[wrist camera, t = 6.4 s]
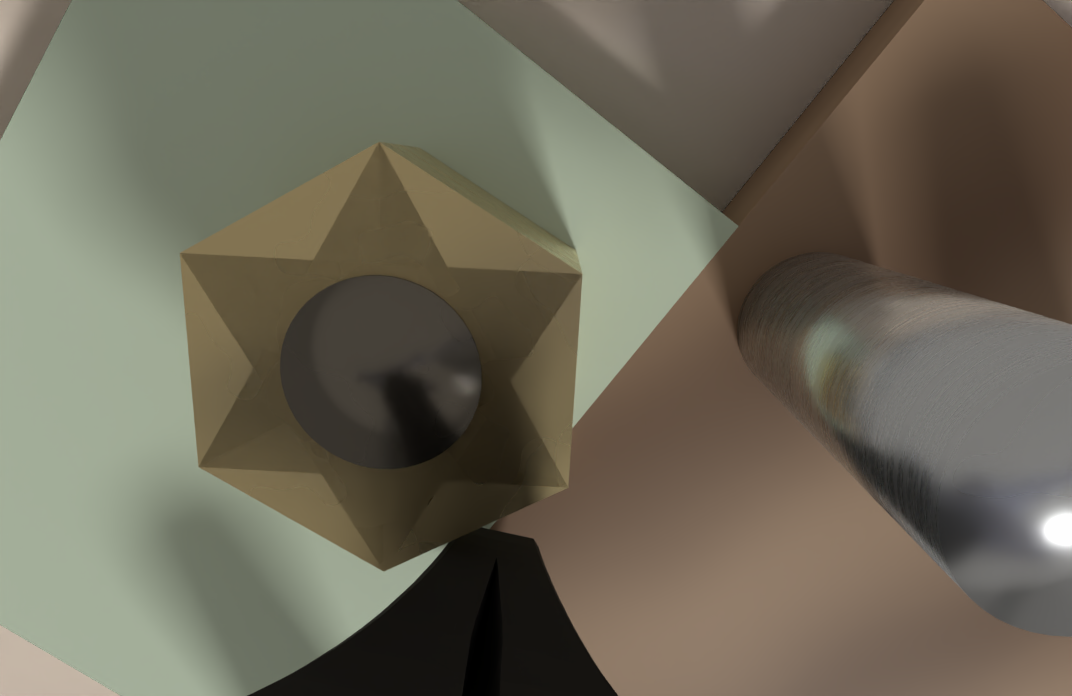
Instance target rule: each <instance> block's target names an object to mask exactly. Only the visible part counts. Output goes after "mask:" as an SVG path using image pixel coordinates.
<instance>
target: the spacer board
mask: <svg viewBox="0 0 1072 696" xmlns="http://www.w3.org/2000/svg"><path fill="white" fill-rule="evenodd" d="M722 213H723V214H724V215H725V216H727V217H728V218H729V219H730V220H732V221H733V222H734V223H735V224H737V225H738V228H737V229H736V230H735V231H734V232H733V234H732V235H731V236H730V237H729V239H728V240H727V241H726V242H725V243H724V245H723V246H722V247H721V248H720V250H719V251H718V252H717V253H716V254H715V256H714V257H713V258H712V259H711V260H710V262H709V263H708V264H707V265H706V267H705V268H704V269H703V270H702V271H701V273H700V274H699V275H698V276H697V277H696V279H695V280H694V281H693V282H692V284H691V285H690V286H689V287H688V288H687V290H686V291H685V292H684V293H683V294H682V296H681V297H680V298H679V299H678V301H677V302H676V303H675V304H674V305H673V307H672V308H671V309H670V310H669V312H668V313H667V314H666V315H665V316H664V318H663V319H662V320H661V321H660V322H659V324H658V325H657V326H656V327H655V329H654V330H653V331H652V332H651V333H650V335H649V336H648V337H647V338H646V339H645V341H644V342H643V343H642V344H641V346H640V347H639V348H638V349H637V350H636V352H635V353H634V354H633V355H632V356H631V358H630V359H629V360H628V361H627V363H626V364H625V365H624V366H623V367H622V369H621V370H620V371H619V372H618V374H617V375H616V376H615V377H614V378H613V380H612V381H611V382H610V383H609V384H608V386H607V387H606V388H605V389H604V391H603V392H602V393H601V394H600V395H599V397H598V398H597V399H596V400H595V401H594V403H593V404H592V405H591V406H590V408H589V409H588V410H587V411H586V412H585V414H584V415H583V416H582V417H581V419H580V420H579V421H578V422H577V423H576V425H575V426H574V427H573V428H572V440H571V455H570V470H569V485H568V488H567V489H564V490H562V491H560V492H558V493H556V494H553V495H551V496H549V497H547V498H545V499H542V500H540V501H538V502H536V503H534V504H531V505H529V506H527V507H525V508H523V509H520V510H518V511H516V512H514V513H512V514H509V515H507V516H505V517H503V518H501V519H498V520H497V521H496V522H495V523H494V524H493V525H492V527H491V528H490V529H491V530H496V531H501V532H505V533H510V534H515V535H519V536H524V537H529V538H534V540H535V542H536V543H537V545H538V547H539V550H540V553H541V556H542V559H543V561H544V564H545V566H546V569H547V571H548V574H549V576H550V579H551V581H552V583H553V586H554V588H555V590H556V592H557V594H558V596H559V599H560V601H561V603H562V604H563V606H564V608H565V610H566V612H567V614H568V616H569V618H570V620H571V622H572V624H573V626H574V628H575V630H576V632H577V633H578V635H579V637H580V639H581V640H582V642H583V644H584V645H585V647H586V649H587V650H588V652H589V654H590V655H591V657H592V659H593V660H594V662H595V663H596V665H597V667H598V668H599V670H600V671H601V673H602V674H603V676H604V677H605V678H606V680H607V681H608V682H609V684H610V685H611V686H612V688H613V689H614V690H615V692H616V693H617V695H618V696H1072V637H1065V636H1050V635H1045V634H1039V633H1034V632H1030V631H1027V630H1023V629H1020V628H1017V627H1014V626H1012V625H1010V624H1007V623H1005V622H1003V621H1001V620H999V619H997V618H995V617H994V616H992V615H991V614H989V613H988V612H986V611H985V610H983V609H982V608H981V607H980V606H978V605H977V604H976V603H975V602H974V601H973V600H972V599H970V598H969V597H968V596H967V594H966V593H965V592H964V591H963V590H962V589H961V588H960V587H959V586H958V585H957V584H956V583H955V582H954V581H953V580H952V579H951V578H950V577H949V576H948V575H947V574H946V573H945V572H944V571H943V570H942V569H941V568H940V567H939V566H938V565H937V564H936V562H935V561H934V560H933V559H932V558H931V557H930V556H929V555H928V554H927V553H926V552H925V551H924V550H923V549H922V548H921V547H920V546H919V545H918V544H917V543H916V542H915V541H914V540H913V539H912V538H911V537H910V536H909V535H908V534H907V533H906V532H905V530H904V529H903V528H902V527H901V526H900V525H899V524H898V523H897V522H896V521H895V520H894V519H893V518H892V517H891V516H890V515H889V514H888V513H887V512H886V511H885V510H884V509H883V508H882V507H881V506H880V505H879V504H878V503H877V502H876V501H875V500H874V498H873V497H872V496H871V495H870V494H869V493H868V492H867V491H866V490H865V489H864V488H863V487H862V486H861V485H860V484H859V483H858V482H857V481H856V480H855V479H854V478H853V477H852V476H851V475H850V474H849V473H848V472H847V471H846V470H845V469H844V468H843V466H842V465H841V464H840V463H839V462H838V461H837V460H836V459H835V458H834V457H833V456H832V455H831V454H830V453H829V452H828V451H827V450H826V449H825V448H824V447H823V446H822V445H821V444H820V443H819V442H818V441H817V440H816V439H815V438H814V437H813V436H812V434H811V433H810V432H809V431H808V430H807V429H806V428H805V427H804V426H803V425H802V424H801V423H800V422H799V421H798V420H797V419H796V418H795V417H794V416H793V415H792V414H791V413H790V412H789V411H788V410H787V409H786V408H785V407H784V406H783V405H782V404H781V403H780V401H779V400H778V399H777V398H776V397H775V396H774V395H773V394H772V393H771V392H770V391H769V390H768V389H767V388H766V387H765V386H764V385H763V384H762V383H761V382H760V381H759V380H758V379H757V378H756V377H755V376H754V374H753V373H752V372H751V371H750V370H749V368H748V366H747V365H746V363H745V362H744V359H743V357H742V355H741V352H740V348H739V344H738V337H737V325H738V318H739V314H740V310H741V307H742V305H743V302H744V300H745V298H746V296H747V294H748V293H749V291H750V289H751V288H752V287H753V285H754V284H755V283H756V281H757V280H758V279H759V278H760V277H761V276H762V275H763V274H764V273H766V272H767V271H768V270H769V269H771V268H772V267H774V266H775V265H777V264H778V263H780V262H782V261H784V260H786V259H788V258H791V257H794V256H797V255H801V254H806V253H813V252H826V253H833V254H839V255H842V256H845V257H849V258H852V259H855V260H859V261H862V262H865V263H869V264H872V265H875V266H879V267H882V268H885V269H889V270H892V271H895V272H899V273H902V274H905V275H908V276H912V277H915V278H918V279H922V280H925V281H928V282H932V283H935V284H938V285H942V286H945V287H948V288H952V289H955V290H958V291H962V292H965V293H968V294H972V295H975V296H978V297H982V298H985V299H988V300H992V301H995V302H998V303H1002V304H1005V305H1008V306H1012V307H1015V308H1018V309H1022V310H1025V311H1028V312H1032V313H1035V314H1038V315H1042V316H1045V317H1048V318H1052V319H1055V320H1058V321H1062V322H1065V323H1068V324H1072V27H1071V26H1070V25H1068V24H1067V23H1066V22H1065V21H1064V20H1063V19H1062V18H1061V17H1060V16H1059V15H1058V14H1057V13H1056V12H1055V11H1053V10H1052V9H1051V8H1050V7H1049V6H1048V5H1047V4H1046V3H1045V2H1044V1H1043V0H894V1H893V2H892V4H891V5H890V6H889V7H888V9H887V10H886V11H885V12H884V14H883V15H882V16H881V17H880V18H879V20H878V21H877V22H876V23H875V25H874V26H873V27H872V28H871V30H870V31H869V32H868V33H867V35H866V36H865V37H864V38H863V39H862V41H861V42H860V43H859V44H858V46H857V47H856V48H855V49H854V51H853V52H852V53H851V54H850V55H849V57H848V58H847V59H846V60H845V62H844V63H843V64H842V65H841V67H840V68H839V69H838V70H837V71H836V73H835V74H834V75H833V76H832V78H831V79H830V80H829V81H828V83H827V84H826V85H825V86H824V88H823V89H822V90H821V91H820V92H819V94H818V95H817V96H816V97H815V99H814V100H813V101H812V102H811V104H810V105H809V106H808V107H807V108H806V110H805V111H804V112H803V113H802V115H801V116H800V117H799V118H798V120H797V121H796V122H795V123H794V124H793V126H792V127H791V128H790V129H789V131H788V132H787V133H786V134H785V136H784V137H783V138H782V139H781V140H780V142H779V143H778V144H777V145H776V147H775V148H774V149H773V150H772V152H771V153H770V154H769V155H768V157H767V158H766V159H765V160H764V161H763V163H762V164H761V165H760V166H759V168H758V169H757V170H756V171H755V173H754V174H753V175H752V176H751V177H750V179H749V180H748V181H747V182H746V184H745V185H744V186H743V187H742V189H741V190H740V191H739V192H738V193H737V195H736V196H735V197H734V198H733V200H732V201H731V202H730V203H729V205H728V206H727V207H726V208H725V210H724V211H723V212H722Z"/></svg>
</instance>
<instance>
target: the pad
mask: <svg viewBox="0 0 1072 696" xmlns="http://www.w3.org/2000/svg"><path fill="white" fill-rule="evenodd" d="M378 142H385V143H392V144H399V145H406V146H412V147H419V148H421V149H423V150H424V151H426V152H427V153H429V154H430V155H432V156H433V157H435V158H436V159H438V160H439V161H441V162H442V163H444V164H445V165H447V166H449V167H450V168H452V169H453V170H455V171H456V172H458V173H459V174H461V175H462V176H464V177H465V178H467V179H468V180H470V181H471V182H473V183H474V184H476V185H478V186H479V187H481V188H482V189H484V190H485V191H487V192H488V193H490V194H491V195H493V196H494V197H496V198H497V199H499V200H500V201H502V202H504V203H505V204H507V205H508V206H510V207H511V208H513V209H514V210H516V211H517V212H519V213H520V214H522V215H523V216H525V217H526V218H528V219H529V220H531V221H533V222H534V223H536V224H537V225H539V226H540V227H542V228H543V229H545V230H546V231H548V232H549V233H551V234H552V235H554V236H555V237H557V238H558V239H560V240H562V241H563V242H565V243H566V244H568V245H569V246H571V247H572V248H574V249H575V250H576V252H577V255H578V259H579V263H580V266H581V270H582V274H583V275H582V290H581V305H580V320H579V335H578V350H577V365H576V380H575V395H574V410H573V425H572V428H573V427H574V426H575V425H576V423H577V422H578V421H579V420H580V419H581V417H582V416H583V415H584V414H585V412H586V411H587V410H588V409H589V408H590V406H591V405H592V404H593V403H594V401H595V400H596V399H597V398H598V397H599V395H600V394H601V393H602V392H603V391H604V389H605V388H606V387H607V386H608V384H609V383H610V382H611V381H612V380H613V378H614V377H615V376H616V375H617V374H618V372H619V371H620V370H621V369H622V367H623V366H624V365H625V364H626V363H627V361H628V360H629V359H630V358H631V356H632V355H633V354H634V353H635V352H636V350H637V349H638V348H639V347H640V346H641V344H642V343H643V342H644V341H645V339H646V338H647V337H648V336H649V335H650V333H651V332H652V331H653V330H654V329H655V327H656V326H657V325H658V324H659V322H660V321H661V320H662V319H663V318H664V316H665V315H666V314H667V313H668V312H669V310H670V309H671V308H672V307H673V305H674V304H675V303H676V302H677V301H678V299H679V298H680V297H681V296H682V294H683V293H684V292H685V291H686V290H687V288H688V287H689V286H690V285H691V284H692V282H693V281H694V280H695V279H696V277H697V276H698V275H699V274H700V273H701V271H702V270H703V269H704V268H705V267H706V265H707V264H708V263H709V262H710V260H711V259H712V258H713V257H714V256H715V254H716V253H717V252H718V251H719V250H720V248H721V247H722V246H723V245H724V243H725V242H726V241H727V240H728V239H729V237H730V236H731V235H732V234H733V232H734V231H735V230H736V229H737V228H738V225H737V224H735V223H734V222H733V221H732V220H730V219H729V218H728V217H727V216H725V215H724V214H723V213H722V212H720V211H719V210H718V209H717V208H715V207H714V206H713V205H712V204H710V203H709V202H708V201H707V200H705V199H704V198H703V197H702V196H700V195H699V194H698V193H697V192H695V191H694V190H693V189H692V188H690V187H689V186H688V185H687V184H685V183H684V182H683V181H682V180H680V179H679V178H678V177H677V176H675V175H674V174H673V173H672V172H670V171H669V170H668V169H667V168H665V167H664V166H663V165H662V164H660V163H659V162H658V161H657V160H656V159H654V158H653V157H652V156H651V155H649V154H648V153H647V152H646V151H644V150H643V149H642V148H641V147H639V146H638V145H637V144H636V143H634V142H633V141H632V140H631V139H629V138H628V137H627V136H626V135H624V134H623V133H622V132H621V131H619V130H618V129H617V128H616V127H614V126H613V125H612V124H611V123H609V122H608V121H607V120H606V119H604V118H603V117H602V116H601V115H599V114H598V113H597V112H596V111H594V110H593V109H592V108H591V107H589V106H588V105H587V104H586V103H584V102H583V101H582V100H581V99H579V98H578V97H577V96H576V95H574V94H573V93H572V92H571V91H569V90H568V89H567V88H566V87H564V86H563V85H562V84H561V83H559V82H558V81H557V80H556V79H554V78H553V77H552V76H551V75H549V74H548V73H547V72H546V71H545V70H543V69H542V68H541V67H540V66H538V65H537V64H536V63H535V62H533V61H532V60H531V59H530V58H528V57H527V56H526V55H525V54H523V53H522V52H521V51H520V50H518V49H517V48H516V47H515V46H513V45H512V44H511V43H510V42H508V41H507V40H506V39H505V38H503V37H502V36H501V35H500V34H498V33H497V32H496V31H495V30H493V29H492V28H491V27H490V26H488V25H487V24H486V23H485V22H483V21H482V20H481V19H480V18H478V17H477V16H476V15H475V14H473V13H472V12H471V11H470V10H468V9H467V8H466V7H465V6H463V5H462V4H461V3H460V2H458V1H457V0H72V1H71V3H70V5H69V7H68V9H67V11H66V13H65V15H64V16H63V18H62V20H61V22H60V24H59V26H58V28H57V30H56V32H55V34H54V36H53V38H52V40H51V42H50V44H49V46H48V48H47V50H46V52H45V54H44V56H43V58H42V60H41V62H40V64H39V65H38V67H37V69H36V71H35V73H34V75H33V77H32V79H31V81H30V83H29V85H28V87H27V89H26V91H25V93H24V95H23V97H22V99H21V101H20V103H19V105H18V107H17V109H16V111H15V113H14V115H13V116H12V118H11V120H10V122H9V124H8V126H7V128H6V130H5V132H4V134H3V136H2V138H1V140H0V625H1V626H3V627H4V628H6V629H8V630H10V631H11V632H13V633H15V634H16V635H18V636H20V637H22V638H23V639H25V640H27V641H28V642H30V643H32V644H33V645H35V646H37V647H39V648H40V649H42V650H44V651H45V652H47V653H49V654H50V655H52V656H54V657H56V658H57V659H59V660H61V661H62V662H64V663H66V664H67V665H69V666H71V667H73V668H74V669H76V670H78V671H79V672H81V673H83V674H85V675H86V676H88V677H90V678H91V679H93V680H95V681H96V682H98V683H100V684H102V685H103V686H105V687H107V688H108V689H110V690H112V691H113V692H115V693H117V694H119V695H120V696H247V695H250V694H252V693H254V692H256V691H258V690H260V689H262V688H264V687H266V686H268V685H270V684H272V683H274V682H276V681H278V680H280V679H282V678H284V677H286V676H288V675H289V674H291V673H293V672H295V671H297V670H298V669H300V668H302V667H303V666H305V665H307V664H308V663H310V662H312V661H313V660H315V659H316V658H318V657H320V656H321V655H323V654H324V653H326V652H327V651H329V650H331V649H332V648H334V647H335V646H337V645H338V644H340V643H341V642H343V641H344V640H345V639H347V638H348V637H350V636H351V635H352V634H354V633H355V632H357V631H358V630H359V629H361V628H362V627H363V626H365V625H366V624H367V623H368V622H370V621H371V620H372V619H373V618H375V617H376V616H377V615H378V614H380V613H381V612H382V611H383V610H384V609H385V608H386V607H388V606H389V605H390V604H391V603H392V602H393V601H394V600H395V599H396V598H397V597H399V596H400V595H401V594H402V593H403V592H404V591H405V590H406V589H407V588H408V587H409V586H411V585H412V584H413V583H414V582H415V580H416V579H417V578H418V577H419V576H420V575H421V574H422V573H423V572H424V571H425V570H426V569H427V568H428V567H429V566H430V564H431V563H432V562H433V561H434V560H435V559H436V558H437V556H438V555H439V554H440V553H441V552H442V550H443V549H444V548H445V547H446V545H447V544H448V543H446V544H443V545H441V546H439V547H437V548H435V549H432V550H430V551H428V552H426V553H424V554H421V555H419V556H417V557H415V558H413V559H410V560H408V561H406V562H404V563H402V564H399V565H397V566H395V567H393V568H391V569H388V570H386V571H384V572H383V571H382V570H380V569H378V568H376V567H375V566H373V565H371V564H369V563H368V562H366V561H364V560H362V559H360V558H359V557H357V556H355V555H353V554H352V553H350V552H348V551H346V550H344V549H343V548H341V547H339V546H337V545H336V544H334V543H332V542H330V541H329V540H327V539H325V538H323V537H321V536H320V535H318V534H316V533H314V532H313V531H311V530H309V529H307V528H306V527H304V526H302V525H300V524H298V523H297V522H295V521H293V520H291V519H290V518H288V517H286V516H284V515H282V514H281V513H279V512H277V511H275V510H274V509H272V508H270V507H268V506H267V505H265V504H263V503H261V502H259V501H258V500H256V499H254V498H252V497H251V496H249V495H247V494H245V493H244V492H242V491H240V490H238V489H236V488H235V487H233V486H231V485H229V484H228V483H226V482H224V481H222V480H220V479H219V478H217V477H215V476H213V475H212V474H210V473H208V472H206V471H205V470H203V469H201V468H199V467H198V457H197V446H196V434H195V423H194V411H193V400H192V388H191V377H190V365H189V354H188V343H187V331H186V320H185V308H184V297H183V285H182V274H181V262H180V253H181V252H182V251H184V250H186V249H188V248H190V247H191V246H193V245H195V244H197V243H199V242H200V241H202V240H204V239H206V238H207V237H209V236H211V235H213V234H215V233H216V232H218V231H220V230H222V229H224V228H225V227H227V226H229V225H231V224H233V223H234V222H236V221H238V220H240V219H241V218H243V217H245V216H247V215H249V214H250V213H252V212H254V211H256V210H258V209H259V208H261V207H263V206H265V205H267V204H268V203H270V202H272V201H274V200H275V199H277V198H279V197H281V196H283V195H284V194H286V193H288V192H290V191H292V190H293V189H295V188H297V187H299V186H301V185H302V184H304V183H306V182H308V181H309V180H311V179H313V178H315V177H317V176H318V175H320V174H322V173H324V172H326V171H327V170H329V169H331V168H333V167H335V166H336V165H338V164H340V163H342V162H344V161H345V160H347V159H349V158H351V157H352V156H354V155H356V154H358V153H360V152H361V151H363V150H365V149H367V148H369V147H370V146H372V145H374V144H376V143H378ZM496 521H497V520H496ZM496 521H494V522H492V523H490V524H487V525H485V526H483V527H482V528H487V529H490V528H491V527H492V525H493V524H494V523H495V522H496Z"/></svg>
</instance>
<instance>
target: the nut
mask: <svg viewBox="0 0 1072 696" xmlns="http://www.w3.org/2000/svg"><path fill="white" fill-rule="evenodd" d="M180 262H181V274H182V285H183V297H184V308H185V320H186V331H187V343H188V354H189V365H190V377H191V388H192V400H193V411H194V423H195V434H196V446H197V457H198V467H199V468H201V469H203V470H205V471H206V472H208V473H210V474H212V475H213V476H215V477H217V478H219V479H220V480H222V481H224V482H226V483H228V484H229V485H231V486H233V487H235V488H236V489H238V490H240V491H242V492H244V493H245V494H247V495H249V496H251V497H252V498H254V499H256V500H258V501H259V502H261V503H263V504H265V505H267V506H268V507H270V508H272V509H274V510H275V511H277V512H279V513H281V514H282V515H284V516H286V517H288V518H290V519H291V520H293V521H295V522H297V523H298V524H300V525H302V526H304V527H306V528H307V529H309V530H311V531H313V532H314V533H316V534H318V535H320V536H321V537H323V538H325V539H327V540H329V541H330V542H332V543H334V544H336V545H337V546H339V547H341V548H343V549H344V550H346V551H348V552H350V553H352V554H353V555H355V556H357V557H359V558H360V559H362V560H364V561H366V562H368V563H369V564H371V565H373V566H375V567H376V568H378V569H380V570H382V571H383V572H384V571H386V570H388V569H391V568H393V567H395V566H397V565H399V564H402V563H404V562H406V561H408V560H410V559H413V558H415V557H417V556H419V555H421V554H424V553H426V552H428V551H430V550H432V549H435V548H437V547H439V546H441V545H443V544H446V543H448V542H450V541H452V540H454V539H457V538H459V537H461V536H463V535H465V534H468V533H470V532H472V531H474V530H476V529H479V528H481V527H483V526H485V525H487V524H490V523H492V522H494V521H496V520H498V519H501V518H503V517H505V516H507V515H509V514H512V513H514V512H516V511H518V510H520V509H523V508H525V507H527V506H529V505H531V504H534V503H536V502H538V501H540V500H542V499H545V498H547V497H549V496H551V495H553V494H556V493H558V492H560V491H562V490H564V489H567V488H568V485H569V470H570V455H571V440H572V425H573V410H574V395H575V380H576V365H577V350H578V335H579V320H580V305H581V290H582V275H583V274H582V270H581V266H580V263H579V259H578V255H577V252H576V250H575V249H574V248H572V247H571V246H569V245H568V244H566V243H565V242H563V241H562V240H560V239H558V238H557V237H555V236H554V235H552V234H551V233H549V232H548V231H546V230H545V229H543V228H542V227H540V226H539V225H537V224H536V223H534V222H533V221H531V220H529V219H528V218H526V217H525V216H523V215H522V214H520V213H519V212H517V211H516V210H514V209H513V208H511V207H510V206H508V205H507V204H505V203H504V202H502V201H500V200H499V199H497V198H496V197H494V196H493V195H491V194H490V193H488V192H487V191H485V190H484V189H482V188H481V187H479V186H478V185H476V184H474V183H473V182H471V181H470V180H468V179H467V178H465V177H464V176H462V175H461V174H459V173H458V172H456V171H455V170H453V169H452V168H450V167H449V166H447V165H445V164H444V163H442V162H441V161H439V160H438V159H436V158H435V157H433V156H432V155H430V154H429V153H427V152H426V151H424V150H423V149H421V148H419V147H412V146H406V145H399V144H392V143H385V142H378V143H376V144H374V145H372V146H370V147H369V148H367V149H365V150H363V151H361V152H360V153H358V154H356V155H354V156H352V157H351V158H349V159H347V160H345V161H344V162H342V163H340V164H338V165H336V166H335V167H333V168H331V169H329V170H327V171H326V172H324V173H322V174H320V175H318V176H317V177H315V178H313V179H311V180H309V181H308V182H306V183H304V184H302V185H301V186H299V187H297V188H295V189H293V190H292V191H290V192H288V193H286V194H284V195H283V196H281V197H279V198H277V199H275V200H274V201H272V202H270V203H268V204H267V205H265V206H263V207H261V208H259V209H258V210H256V211H254V212H252V213H250V214H249V215H247V216H245V217H243V218H241V219H240V220H238V221H236V222H234V223H233V224H231V225H229V226H227V227H225V228H224V229H222V230H220V231H218V232H216V233H215V234H213V235H211V236H209V237H207V238H206V239H204V240H202V241H200V242H199V243H197V244H195V245H193V246H191V247H190V248H188V249H186V250H184V251H182V252H181V253H180Z"/></svg>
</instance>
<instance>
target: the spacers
mask: <svg viewBox="0 0 1072 696" xmlns="http://www.w3.org/2000/svg"><path fill="white" fill-rule="evenodd" d="M737 337H738V344H739V348H740V352H741V355H742V357H743V359H744V362H745V363H746V365H747V366H748V368H749V370H750V371H751V372H752V373H753V374H754V376H755V377H756V378H757V379H758V380H759V381H760V382H761V383H762V384H763V385H764V386H765V387H766V388H767V389H768V390H769V391H770V392H771V393H772V394H773V395H774V396H775V397H776V398H777V399H778V400H779V401H780V403H781V404H782V405H783V406H784V407H785V408H786V409H787V410H788V411H789V412H790V413H791V414H792V415H793V416H794V417H795V418H796V419H797V420H798V421H799V422H800V423H801V424H802V425H803V426H804V427H805V428H806V429H807V430H808V431H809V432H810V433H811V434H812V436H813V437H814V438H815V439H816V440H817V441H818V442H819V443H820V444H821V445H822V446H823V447H824V448H825V449H826V450H827V451H828V452H829V453H830V454H831V455H832V456H833V457H834V458H835V459H836V460H837V461H838V462H839V463H840V464H841V465H842V466H843V468H844V469H845V470H846V471H847V472H848V473H849V474H850V475H851V476H852V477H853V478H854V479H855V480H856V481H857V482H858V483H859V484H860V485H861V486H862V487H863V488H864V489H865V490H866V491H867V492H868V493H869V494H870V495H871V496H872V497H873V498H874V500H875V501H876V502H877V503H878V504H879V505H880V506H881V507H882V508H883V509H884V510H885V511H886V512H887V513H888V514H889V515H890V516H891V517H892V518H893V519H894V520H895V521H896V522H897V523H898V524H899V525H900V526H901V527H902V528H903V529H904V530H905V532H906V533H907V534H908V535H909V536H910V537H911V538H912V539H913V540H914V541H915V542H916V543H917V544H918V545H919V546H920V547H921V548H922V549H923V550H924V551H925V552H926V553H927V554H928V555H929V556H930V557H931V558H932V559H933V560H934V561H935V562H936V564H937V565H938V566H939V567H940V568H941V569H942V570H943V571H944V572H945V573H946V574H947V575H948V576H949V577H950V578H951V579H952V580H953V581H954V582H955V583H956V584H957V585H958V586H959V587H960V588H961V589H962V590H963V591H964V592H965V593H966V594H967V596H968V597H969V598H970V599H972V600H973V601H974V602H975V603H976V604H977V605H978V606H980V607H981V608H982V609H983V610H985V611H986V612H988V613H989V614H991V615H992V616H994V617H995V618H997V619H999V620H1001V621H1003V622H1005V623H1007V624H1010V625H1012V626H1014V627H1017V628H1020V629H1023V630H1027V631H1030V632H1034V633H1039V634H1045V635H1050V636H1065V637H1072V324H1068V323H1065V322H1062V321H1058V320H1055V319H1052V318H1048V317H1045V316H1042V315H1038V314H1035V313H1032V312H1028V311H1025V310H1022V309H1018V308H1015V307H1012V306H1008V305H1005V304H1002V303H998V302H995V301H992V300H988V299H985V298H982V297H978V296H975V295H972V294H968V293H965V292H962V291H958V290H955V289H952V288H948V287H945V286H942V285H938V284H935V283H932V282H928V281H925V280H922V279H918V278H915V277H912V276H908V275H905V274H902V273H899V272H895V271H892V270H889V269H885V268H882V267H879V266H875V265H872V264H869V263H865V262H862V261H859V260H855V259H852V258H849V257H845V256H842V255H839V254H833V253H826V252H813V253H806V254H801V255H797V256H794V257H791V258H788V259H786V260H784V261H782V262H780V263H778V264H777V265H775V266H774V267H772V268H771V269H769V270H768V271H767V272H766V273H764V274H763V275H762V276H761V277H760V278H759V279H758V280H757V281H756V283H755V284H754V285H753V287H752V288H751V289H750V291H749V293H748V294H747V296H746V298H745V300H744V302H743V305H742V307H741V310H740V314H739V318H738V325H737Z"/></svg>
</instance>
